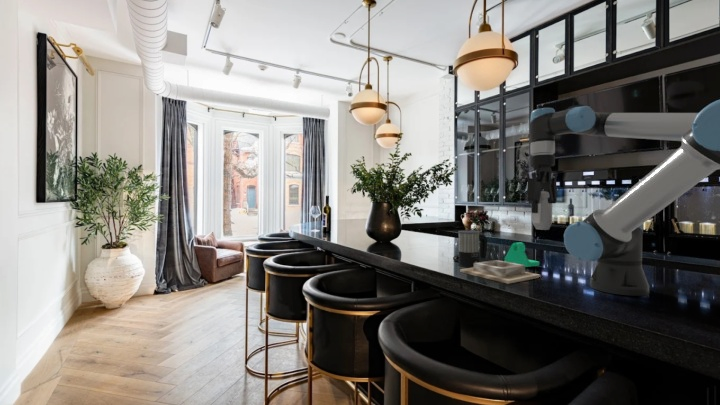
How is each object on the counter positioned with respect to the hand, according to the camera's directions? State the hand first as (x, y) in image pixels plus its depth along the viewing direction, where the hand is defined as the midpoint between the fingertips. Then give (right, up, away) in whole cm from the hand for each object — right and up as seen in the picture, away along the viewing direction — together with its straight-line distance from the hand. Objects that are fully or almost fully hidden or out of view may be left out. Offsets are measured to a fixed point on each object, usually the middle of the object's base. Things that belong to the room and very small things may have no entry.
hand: (542, 222), depth 121 cm
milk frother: (-16, -21, +35) cm, 44 cm away
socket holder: (-10, -21, +13) cm, 26 cm away
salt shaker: (0, -3, 0) cm, 3 cm away
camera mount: (+7, -21, +30) cm, 37 cm away
